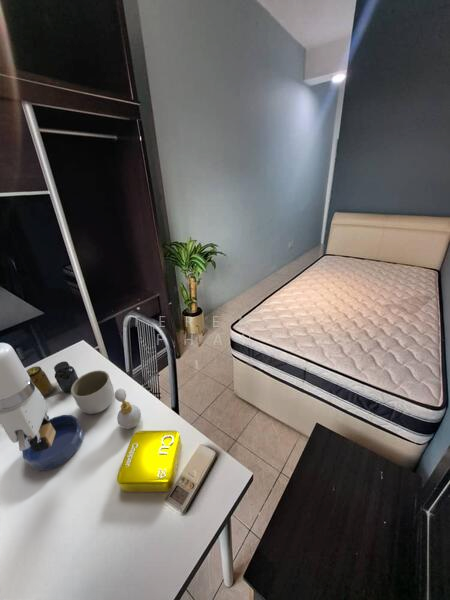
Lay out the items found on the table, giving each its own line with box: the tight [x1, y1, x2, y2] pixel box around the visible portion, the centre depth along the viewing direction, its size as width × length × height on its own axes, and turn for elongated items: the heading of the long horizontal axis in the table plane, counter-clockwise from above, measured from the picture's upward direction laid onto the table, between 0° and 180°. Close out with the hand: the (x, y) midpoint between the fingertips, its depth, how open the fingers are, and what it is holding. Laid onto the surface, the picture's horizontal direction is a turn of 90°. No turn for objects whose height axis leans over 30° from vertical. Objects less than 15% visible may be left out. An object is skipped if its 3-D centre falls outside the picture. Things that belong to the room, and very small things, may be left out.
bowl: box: [21, 414, 85, 472], centre depth 78 cm, size 15×15×5 cm
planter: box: [70, 370, 115, 415], centre depth 90 cm, size 12×12×11 cm
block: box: [30, 423, 56, 446], centre depth 64 cm, size 4×4×4 cm
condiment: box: [26, 365, 61, 400], centre depth 97 cm, size 7×8×12 cm
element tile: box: [116, 430, 182, 493], centre depth 72 cm, size 15×15×5 cm
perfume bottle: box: [114, 388, 142, 430], centre depth 83 cm, size 8×10×12 cm
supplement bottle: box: [53, 361, 79, 394], centre depth 98 cm, size 7×7×12 cm
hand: (44, 440), depth 65 cm, fingers closed on block, 4 cm apart
